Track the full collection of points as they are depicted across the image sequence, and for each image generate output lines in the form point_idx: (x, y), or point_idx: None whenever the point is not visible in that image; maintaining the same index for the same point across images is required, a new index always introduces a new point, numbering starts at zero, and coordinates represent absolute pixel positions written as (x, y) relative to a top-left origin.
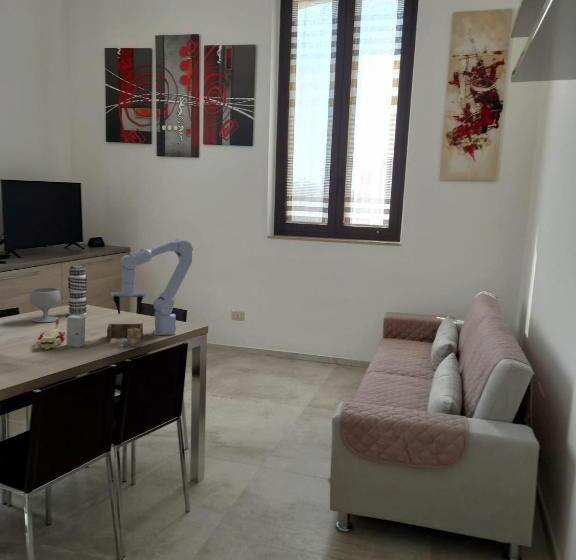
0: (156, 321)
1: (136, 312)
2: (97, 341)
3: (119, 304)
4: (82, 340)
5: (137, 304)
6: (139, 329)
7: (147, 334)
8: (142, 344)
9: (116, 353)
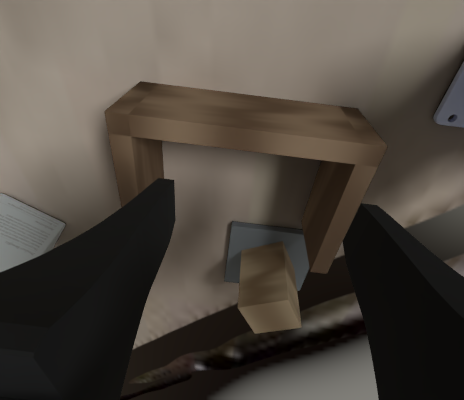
0: None
1: (345, 256)
2: (103, 182)
3: (134, 285)
4: (49, 249)
5: (380, 362)
6: (297, 324)
7: (399, 86)
8: (299, 278)
9: (201, 314)
